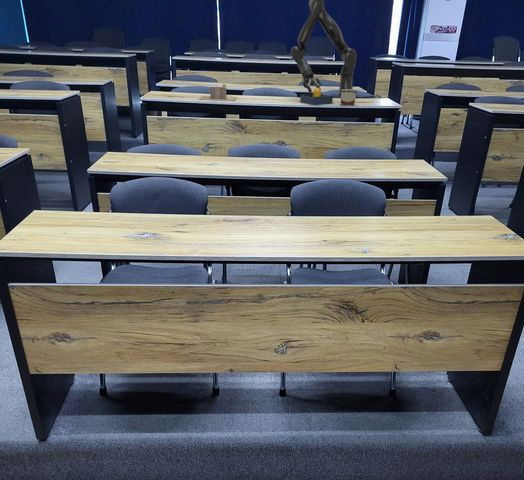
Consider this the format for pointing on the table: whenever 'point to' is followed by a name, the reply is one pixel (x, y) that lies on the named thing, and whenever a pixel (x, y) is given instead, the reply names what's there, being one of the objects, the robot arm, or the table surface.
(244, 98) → the table surface
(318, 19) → the robot arm
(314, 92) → the pepper
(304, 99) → the crate
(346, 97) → the food container
